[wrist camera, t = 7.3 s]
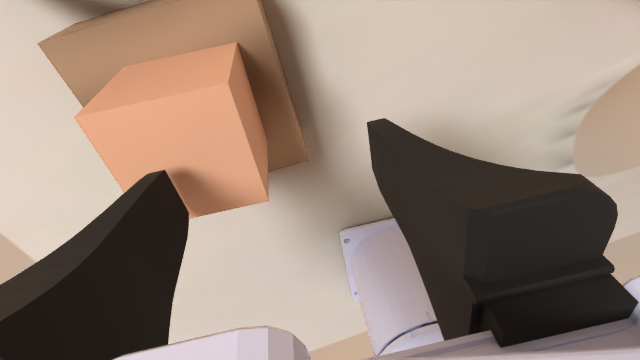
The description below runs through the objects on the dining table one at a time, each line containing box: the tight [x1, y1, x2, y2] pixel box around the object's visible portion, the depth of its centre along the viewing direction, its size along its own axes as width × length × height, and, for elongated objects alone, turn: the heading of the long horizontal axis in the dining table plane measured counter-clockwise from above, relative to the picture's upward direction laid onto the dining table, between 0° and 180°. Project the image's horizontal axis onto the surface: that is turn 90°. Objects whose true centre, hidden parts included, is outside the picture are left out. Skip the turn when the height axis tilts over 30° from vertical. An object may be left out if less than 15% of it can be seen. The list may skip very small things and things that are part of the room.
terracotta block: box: [74, 42, 269, 219], centre depth 15 cm, size 5×5×5 cm
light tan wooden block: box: [37, 0, 308, 172], centre depth 18 cm, size 9×9×4 cm
